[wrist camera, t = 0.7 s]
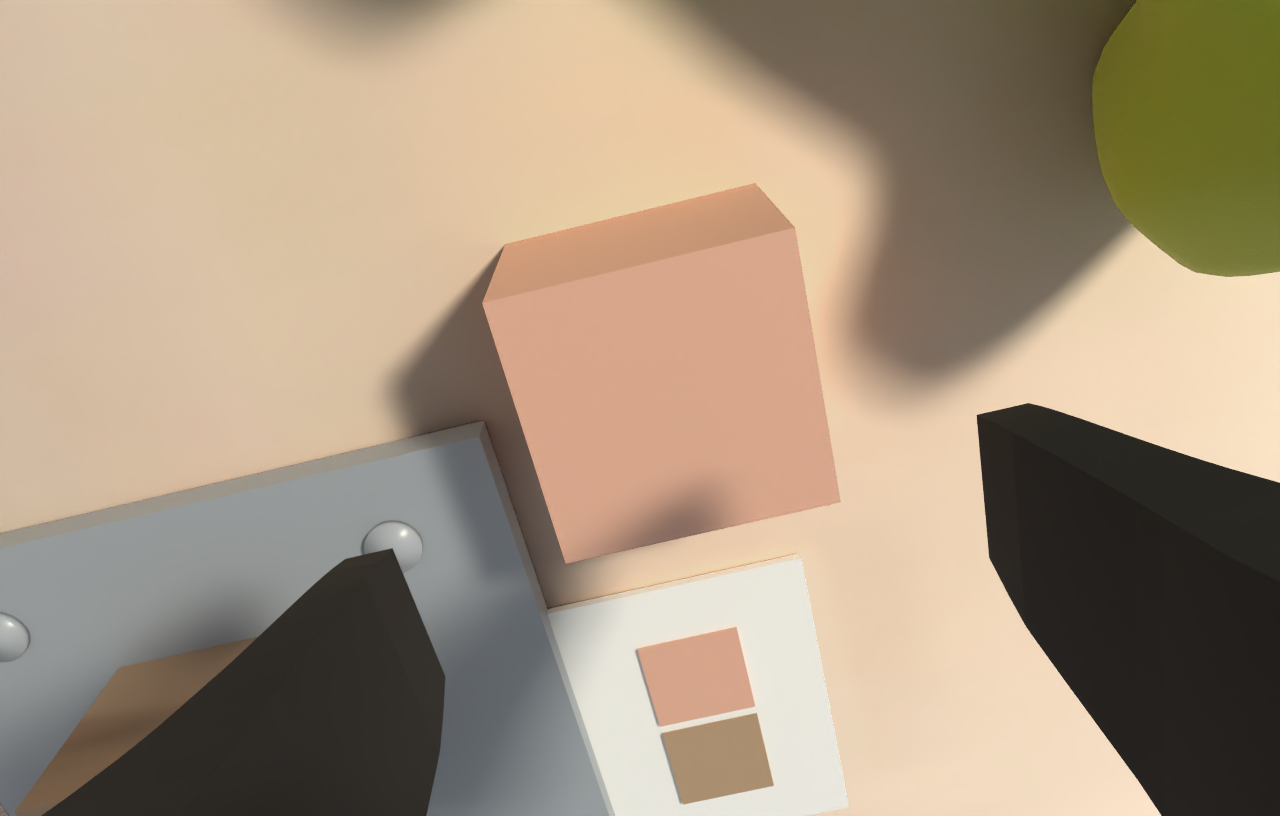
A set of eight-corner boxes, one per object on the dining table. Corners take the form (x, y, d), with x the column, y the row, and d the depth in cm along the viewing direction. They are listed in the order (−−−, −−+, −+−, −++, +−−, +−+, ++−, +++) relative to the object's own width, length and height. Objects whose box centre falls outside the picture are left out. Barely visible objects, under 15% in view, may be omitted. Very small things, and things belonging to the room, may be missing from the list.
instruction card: (847, 800, 24) (850, 810, 24) (627, 846, 24) (627, 855, 24) (799, 553, 21) (802, 560, 21) (547, 608, 21) (546, 617, 21)
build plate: (636, 871, 25) (637, 904, 24) (153, 970, 26) (136, 1005, 25) (484, 420, 19) (478, 441, 18) (-130, 563, 20) (-165, 590, 19)
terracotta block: (795, 410, 20) (840, 502, 16) (571, 461, 20) (565, 563, 16) (754, 181, 18) (794, 227, 14) (506, 242, 18) (481, 302, 14)
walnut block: (406, 782, 22) (368, 936, 18) (211, 824, 22) (136, 983, 19) (331, 620, 20) (272, 756, 16) (119, 667, 20) (14, 812, 17)
